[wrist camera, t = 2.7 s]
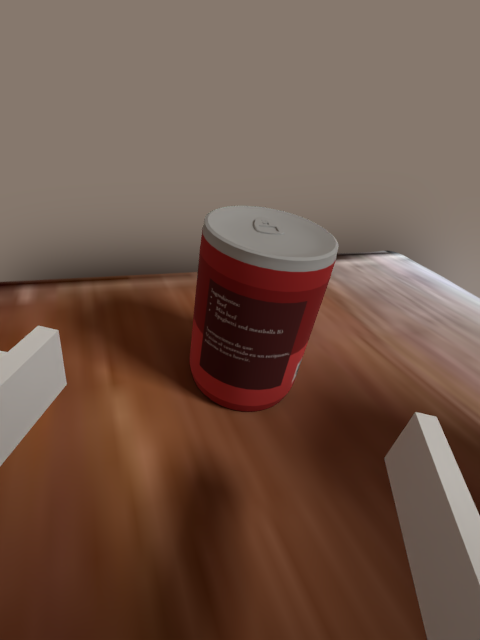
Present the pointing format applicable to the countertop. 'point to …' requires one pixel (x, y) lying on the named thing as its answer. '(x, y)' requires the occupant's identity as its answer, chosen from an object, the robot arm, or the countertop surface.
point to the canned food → (256, 303)
